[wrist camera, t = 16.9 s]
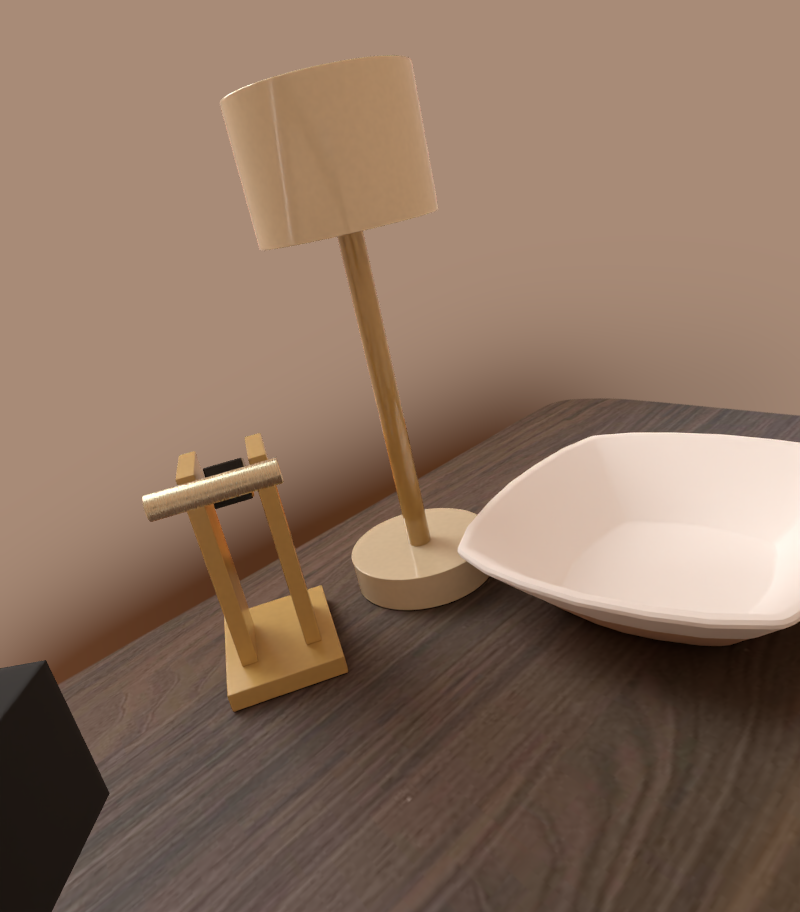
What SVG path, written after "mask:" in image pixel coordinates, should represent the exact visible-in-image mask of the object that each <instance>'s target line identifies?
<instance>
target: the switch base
mask: <svg viewBox="0 0 800 912" xmlns="http://www.w3.org/2000/svg"><path fill="white" fill-rule="evenodd" d="M245 443H246V449H247V455H248V460H249V463H250V465H252V464H255V463H259V462H262V461H266V460H269V459H268V456H267V453H266V450H265V447H264V443H263V440H262V437H261V434H260V433H258V434H254V435H251V436H247V437H245ZM274 458H276V457H274ZM270 459H272V458H270ZM203 478H204V476H203V473H202V470H201V467H200V464H199V461H198V458H197V455H196V452H195V451H194V452H190V453H186V454H183V455H179V459H178V467H177V474H176V482H177V486H179V485H182V484H186V483H189V482H193V481H196V480H200V479H203ZM258 492H259V495H260V499H261V502H262V505H263V508H264V511H265V514H266V518H267V521H268V524H269V527H270V531H271V534H272V537H273V540H274V543H275V546H276V550H277V553H278V556H279V559H280V563H281V566H282V569H283V572H284V575H285V579H286V582H287V585H288V588H289V591H290V595H289V596H286V597H283V598H280V599H277V600H274V601H271V602H268V603H264V604H261V605H258V606H255V607H252V608H248V605H247V602H246V599H245V596H244V593H243V590H242V587H241V584H240V581H239V578H238V576H237V573H236V570H235V567H234V564H233V561H232V558H231V555H230V552H229V549H228V546H227V543H226V540H225V537H224V534H223V532H222V528H221V526H220V523H219V520H218V517H217V514H216V511H215V508H214V505H213V504H211V505H207V506H204V507H200V508H197V509H194V510H190V511H187V513H188V515H189V518H190V521H191V524H192V527H193V530H194V533H195V535H196V538H197V541H198V544H199V546H200V550H201V552H202V555H203V558H204V561H205V564H206V566H207V569H208V572H209V575H210V578H211V580H212V583H213V586H214V589H215V591H216V594H217V597H218V600H219V603H220V606H221V608H222V611H223V614H224V627H225V651H226V675H227V697H228V700H229V702H230V705H231V708H232V710H233V712H235V711H238V710H241V709H243V708H246V707H249V706H252V705H255V704H258V703H261V702H264V701H267V700H269V699H272V698H275V697H278V696H281V695H284V694H287V693H290V692H292V691H295V690H298V689H301V688H304V687H307V686H310V685H313V684H316V683H318V682H321V681H324V680H327V679H330V678H333V677H336V676H339V675H341V674H344V673H347V672H348V671H349V670H348V667H347V664H346V660H345V657H344V654H343V650H342V647H341V644H340V641H339V638H338V635H337V632H336V628H335V625H334V622H333V619H332V616H331V613H330V610H329V607H328V603H327V600H326V597H325V594H324V591H323V588H322V586H321V585H320V586H317V587H314V588H311V589H307V586H306V583H305V579H304V576H303V573H302V569H301V566H300V563H299V559H298V556H297V553H296V549H295V546H294V543H293V540H292V537H291V533H290V529H289V526H288V523H287V520H286V516H285V513H284V510H283V506H282V503H281V500H280V496H279V493H278V490H277V487H276V485H275V486H272V487H268V488H265V489H261V490H258Z"/></svg>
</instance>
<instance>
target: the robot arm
mask: <svg viewBox="0 0 800 912" xmlns="http://www.w3.org/2000/svg"><path fill="white" fill-rule="evenodd" d="M108 795H109V791H108V789H107V787H106V785H105V783H104V781H103V779H102V777H101V774H100V772H99V770H98V768H97V766H96V764H95V762H94V760H93V758H92V756H91V753H90V751H89V749H88V747H87V745H86V743H85V741H84V739H83V737H82V735H81V733H80V730H79V728H78V726H77V724H76V722H75V720H74V718H73V716H72V714H71V712H70V710H69V707H68V705H67V703H66V701H65V699H64V697H63V695H62V693H61V691H60V689H59V687H58V684H57V682H56V680H55V678H54V676H53V674H52V672H51V670H50V668H49V666H48V664H47V661H46V660H45V661H39V662H33V663H28V664H23V665H16V666H11V667H5V668H0V912H52V910H53V908H54V906H55V904H56V902H57V900H58V898H59V896H60V893H61V891H62V889H63V887H64V885H65V883H66V881H67V879H68V877H69V875H70V873H71V871H72V869H73V867H74V865H75V863H76V861H77V859H78V857H79V855H80V853H81V851H82V848H83V846H84V844H85V842H86V840H87V838H88V836H89V834H90V832H91V830H92V828H93V826H94V824H95V822H96V820H97V818H98V816H99V814H100V812H101V810H102V808H103V806H104V804H105V801H106V799H107V797H108Z"/></svg>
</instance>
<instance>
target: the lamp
mask: <svg viewBox="0 0 800 912" xmlns="http://www.w3.org/2000/svg"><path fill="white" fill-rule="evenodd" d="M220 107H221V111H222V114H223V118H224V122H225V125H226V128H227V133H228V136H229V140H230V143H231V146H232V151H233V154H234V158H235V162H236V165H237V169H238V173H239V176H240V180H241V184H242V187H243V191H244V195H245V198H246V202H247V205H248V209H249V213H250V216H251V220H252V224H253V227H254V231H255V235H256V238H257V242H258V246H259V249H260V250H271V249H278V248H284V247H289V246H294V245H300V244H305V243H310V242H314V241H319V240H323V239H329V238H333V237H337V238H338V242H339V247H340V251H341V255H342V259H343V264H344V268H345V272H346V277H347V281H348V285H349V289H350V294H351V298H352V302H353V307H354V311H355V315H356V319H357V323H358V328H359V332H360V336H361V340H362V345H363V349H364V353H365V358H366V362H367V366H368V370H369V375H370V379H371V383H372V388H373V392H374V396H375V400H376V405H377V409H378V413H379V418H380V422H381V426H382V430H383V435H384V439H385V443H386V447H387V451H388V455H389V460H390V464H391V468H392V473H393V477H394V481H395V486H396V490H397V494H398V499H399V503H400V507H401V511H402V515H400V516H397V517H394V518H392V519H389V520H387V521H385V522H383V523H381V524H379V525H377V526H375V527H374V528H372V529H371V530H369V531H368V532H367V533H365V534H364V535H363V536H362V537H361V538H360V539H359V540H358V542H357V543H356V544H355V546H354V548H353V551H352V561H353V565H354V569H355V573H356V576H357V580H358V584H359V587H360V591H361V592H362V594H363V595H364V597H365V598H366V599H368V600H369V601H370V602H372V603H374V604H376V605H378V606H381V607H384V608H389V609H396V610H420V609H427V608H432V607H437V606H441V605H444V604H447V603H450V602H453V601H455V600H458V599H460V598H462V597H464V596H466V595H468V594H469V593H471V592H473V591H474V590H476V589H477V588H478V587H480V586H481V585H482V584H483V583H484V582H485V581H486V580H487V579H488V578H489V575H487V574H485V573H483V572H482V571H480V570H479V569H477V568H476V567H474V566H473V565H472V564H470V563H469V562H467V561H466V560H464V559H463V558H461V556H460V555H459V554H458V546H459V544H460V542H461V540H462V538H463V535H464V533H465V531H466V529H467V527H468V525H469V524H470V523H471V522H472V521H473V520H474V518H475V517H476V516H477V514H474V513H472V512H469V511H465V510H460V509H452V508H434V509H425V510H424V505H423V501H422V496H421V492H420V487H419V482H418V478H417V474H416V469H415V465H414V460H413V456H412V451H411V446H410V442H409V438H408V433H407V428H406V424H405V419H404V415H403V410H402V405H401V401H400V396H399V392H398V388H397V383H396V378H395V374H394V369H393V365H392V360H391V356H390V351H389V347H388V342H387V338H386V333H385V329H384V324H383V319H382V316H381V310H380V306H379V301H378V297H377V292H376V288H375V284H374V279H373V274H372V270H371V265H370V261H369V256H368V252H367V247H366V242H365V238H364V234H363V231H364V230H368V229H372V228H377V227H381V226H385V225H389V224H392V223H397V222H400V221H404V220H408V219H411V218H415V217H419V216H422V215H426V214H429V213H432V212H435V211H437V210H438V203H437V198H436V192H435V187H434V181H433V176H432V170H431V165H430V159H429V154H428V149H427V143H426V137H425V132H424V126H423V121H422V115H421V110H420V104H419V99H418V93H417V88H416V82H415V76H414V71H413V66H412V61H411V59H410V58H409V57H405V56H398V55H383V56H370V57H363V58H355V59H348V60H343V61H337V62H332V63H327V64H321V65H317V66H312V67H308V68H304V69H300V70H296V71H292V72H288V73H285V74H281V75H278V76H275V77H271V78H268V79H265V80H262V81H259V82H257V83H253V84H251V85H248V86H245V87H243V88H241V89H238V90H236V91H234V92H232V93H230V94H229V95H227V96H226V97H225V98H223V99H222V100H221V101H220Z"/></svg>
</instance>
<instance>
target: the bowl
mask: <svg viewBox="0 0 800 912" xmlns="http://www.w3.org/2000/svg"><path fill="white" fill-rule="evenodd" d="M458 554H459V555H460V556H461V558H463V559H464V560H466V561H467V562H469V563H470V564H472V565H473V566H474V567H476V568H477V569H479V570H480V571H482V572H483V573H485V574H487V575H489V576H491V577H493V578H495V579H497V580H499V581H502V582H504V583H506V584H508V585H510V586H512V587H514V588H516V589H519V590H521V591H523V592H525V593H527V594H530V595H532V596H534V597H537V598H539V599H541V600H544V601H546V602H548V603H550V604H552V605H554V606H557V607H559V608H561V609H563V610H565V611H567V612H570V613H572V614H574V615H577V616H579V617H581V618H584V619H586V620H588V621H591V622H593V623H595V624H598V625H601V626H604V627H607V628H611V629H614V630H617V631H620V632H623V633H627V634H632V635H637V636H641V637H646V638H650V639H655V640H663V641H670V642H677V643H684V644H692V645H699V646H727V645H732V644H735V643H738V642H741V641H744V640H747V639H750V638H756V637H760V636H763V635H766V634H769V633H772V632H775V631H778V630H781V629H785V628H787V627H790V626H792V625H794V624H796V623H798V622H799V621H800V443H797V442H790V441H782V440H775V439H765V438H754V437H743V436H733V435H722V434H696V433H622V434H609V435H596V436H591V437H588V438H586V439H584V440H581V441H579V442H577V443H574V444H572V445H570V446H567V447H565V448H563V449H561V450H559V451H557V452H556V453H554V454H552V455H551V456H549V457H548V458H546V459H544V460H543V461H541V462H539V463H538V464H536V465H534V466H533V467H531V468H530V469H529V470H527V471H526V472H524V473H523V474H521V475H520V476H519V477H517V478H516V479H514V480H513V481H512V482H510V483H509V484H508V485H507V486H506V487H505V488H504V489H503V490H502V491H500V492H499V493H498V494H497V495H496V496H495V497H494V498H493V499H492V500H491V501H490V502H489V503H488V504H487V505H486V506H485V507H484V508H483V509H482V511H481V512H480V513H479V514H478V515H477V516H476V517H475V518H474V520H473V521H472V522H471V523H470V524H469V525H468V527H467V529H466V531H465V533H464V535H463V538H462V540H461V542H460V544H459V546H458Z"/></svg>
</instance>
